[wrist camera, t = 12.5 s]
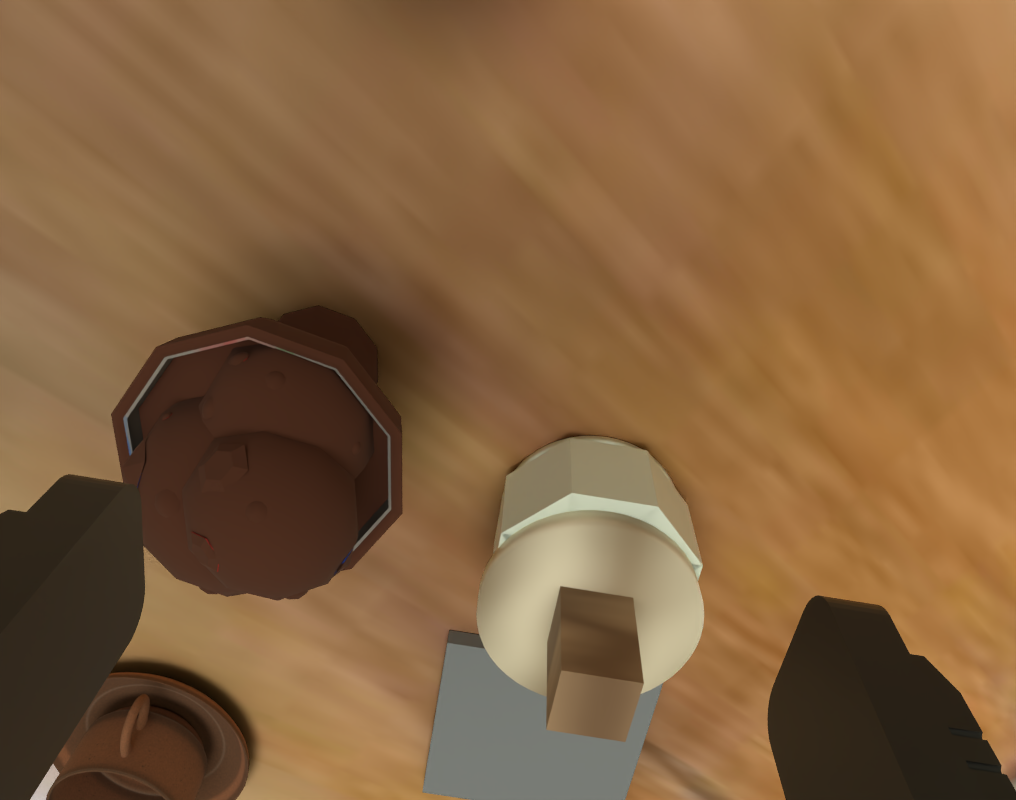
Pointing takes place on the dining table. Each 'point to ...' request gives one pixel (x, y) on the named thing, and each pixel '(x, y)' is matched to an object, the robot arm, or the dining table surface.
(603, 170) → the dining table surface
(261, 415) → the ice cream bowl
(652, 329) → the dining table surface
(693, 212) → the dining table surface
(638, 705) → the mat
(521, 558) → the lid
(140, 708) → the cup and saucer
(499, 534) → the bowl
